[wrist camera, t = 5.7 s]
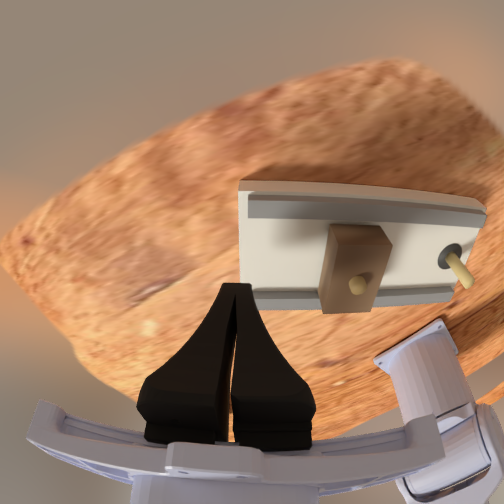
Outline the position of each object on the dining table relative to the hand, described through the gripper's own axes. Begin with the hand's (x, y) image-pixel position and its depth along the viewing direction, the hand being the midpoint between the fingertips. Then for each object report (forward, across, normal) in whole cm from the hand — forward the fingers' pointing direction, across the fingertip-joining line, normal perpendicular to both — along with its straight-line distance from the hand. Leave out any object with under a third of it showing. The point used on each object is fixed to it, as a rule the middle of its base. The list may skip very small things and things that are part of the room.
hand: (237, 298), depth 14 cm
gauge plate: (+5, -9, 0) cm, 10 cm away
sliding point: (+3, -6, 0) cm, 7 cm away
